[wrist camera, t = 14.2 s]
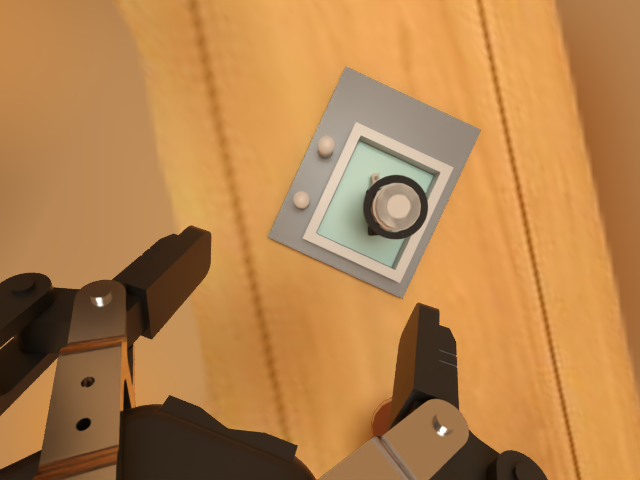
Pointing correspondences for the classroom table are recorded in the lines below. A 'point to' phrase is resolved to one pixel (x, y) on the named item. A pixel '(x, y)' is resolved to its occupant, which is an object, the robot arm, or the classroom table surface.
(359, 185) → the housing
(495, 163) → the classroom table surface
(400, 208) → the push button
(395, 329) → the classroom table surface
